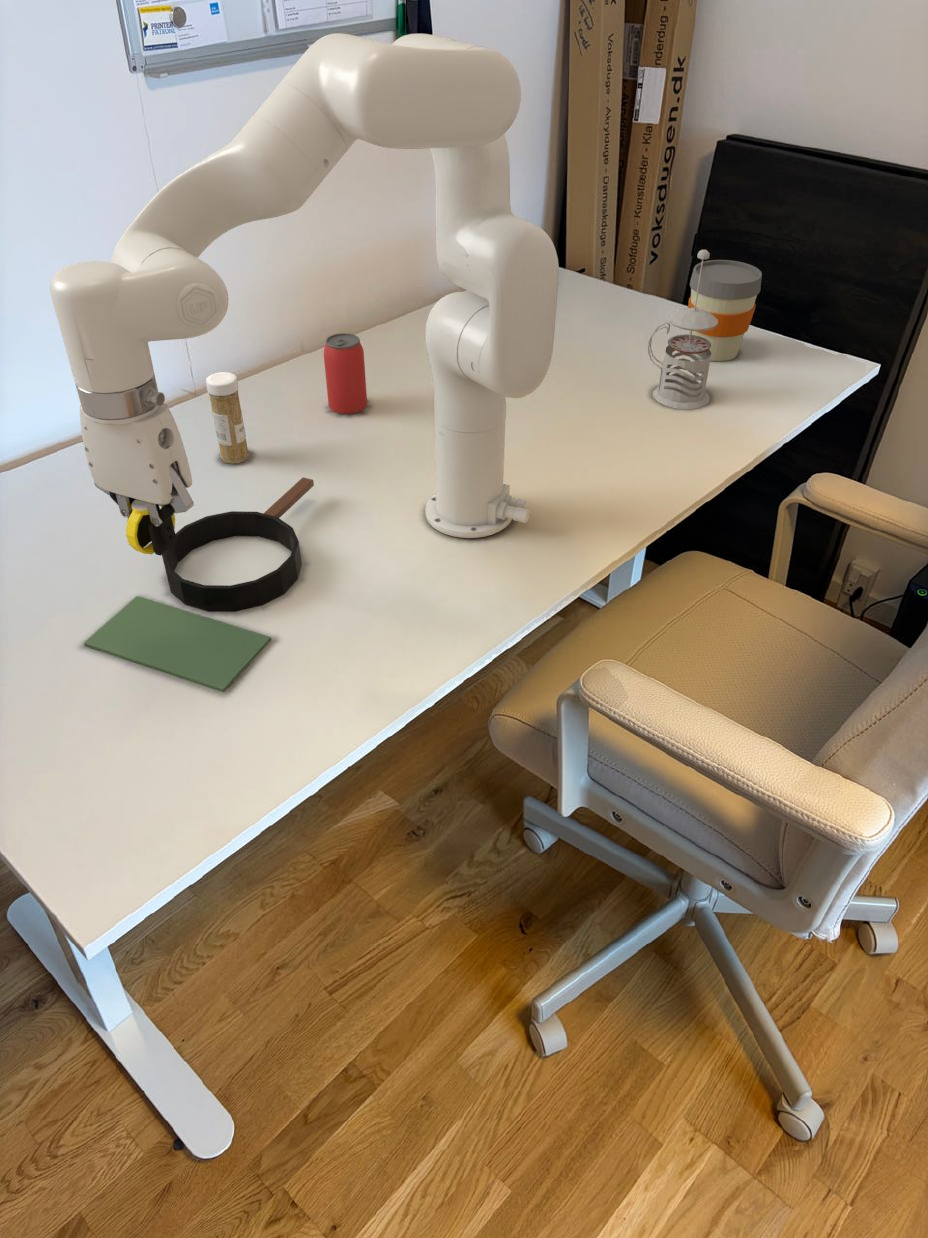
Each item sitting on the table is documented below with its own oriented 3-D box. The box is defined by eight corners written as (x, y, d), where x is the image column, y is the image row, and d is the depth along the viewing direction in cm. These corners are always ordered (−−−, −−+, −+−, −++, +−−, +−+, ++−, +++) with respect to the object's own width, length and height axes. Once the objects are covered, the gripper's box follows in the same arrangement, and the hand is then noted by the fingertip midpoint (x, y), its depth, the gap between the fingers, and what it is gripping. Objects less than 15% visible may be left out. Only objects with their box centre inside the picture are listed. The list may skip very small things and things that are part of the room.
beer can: (321, 412, 161) (314, 344, 153) (340, 395, 166) (334, 328, 158) (356, 419, 159) (351, 350, 152) (374, 402, 164) (369, 335, 156)
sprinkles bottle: (254, 459, 149) (241, 379, 140) (226, 467, 147) (212, 387, 138) (242, 447, 152) (229, 368, 143) (215, 455, 150) (200, 375, 141)
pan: (254, 626, 118) (249, 601, 115) (141, 591, 123) (134, 567, 121) (362, 511, 138) (360, 489, 135) (260, 486, 143) (257, 464, 140)
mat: (271, 640, 116) (270, 637, 115) (223, 692, 109) (223, 689, 108) (137, 598, 122) (137, 595, 122) (84, 645, 115) (83, 642, 115)
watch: (166, 530, 109) (156, 485, 106) (184, 537, 108) (174, 492, 104) (127, 556, 105) (115, 511, 102) (145, 564, 104) (134, 518, 100)
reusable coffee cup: (666, 344, 183) (678, 265, 173) (720, 333, 187) (734, 255, 177) (705, 370, 174) (720, 288, 164) (761, 357, 178) (778, 277, 169)
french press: (705, 412, 161) (732, 263, 145) (637, 402, 164) (656, 255, 148) (713, 388, 168) (739, 243, 152) (647, 378, 171) (667, 235, 155)
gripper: (207, 393, 95) (235, 544, 107) (81, 365, 100) (121, 513, 112) (160, 426, 90) (195, 582, 102) (29, 394, 95) (77, 546, 106)
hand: (156, 544), depth 107 cm, fingers closed on watch, 2 cm apart
